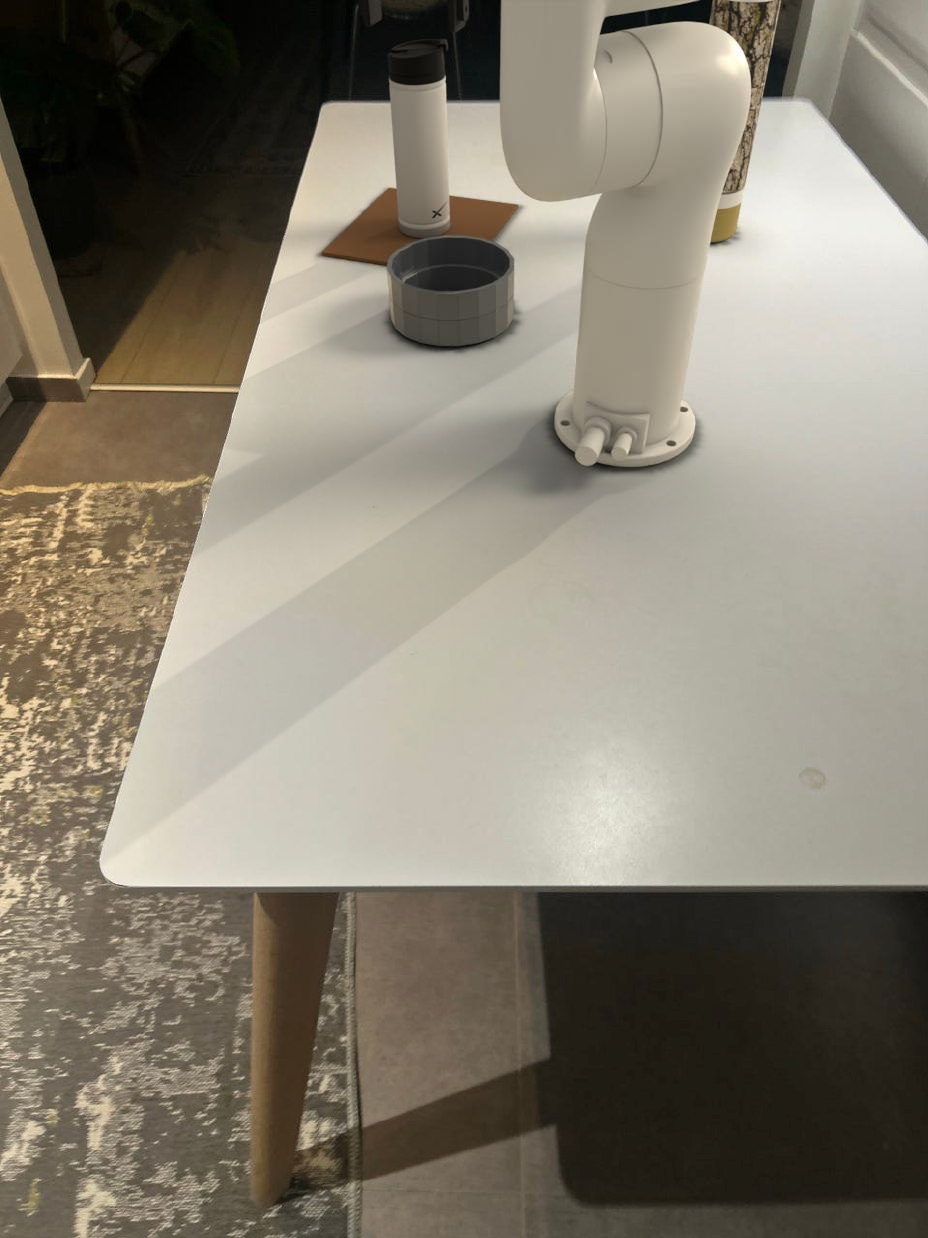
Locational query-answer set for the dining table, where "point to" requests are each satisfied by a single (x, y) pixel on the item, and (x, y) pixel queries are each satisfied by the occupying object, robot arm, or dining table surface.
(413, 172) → the travel mug
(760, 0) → the paper tube
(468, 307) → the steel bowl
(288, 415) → the dining table surface
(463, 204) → the cork mat
